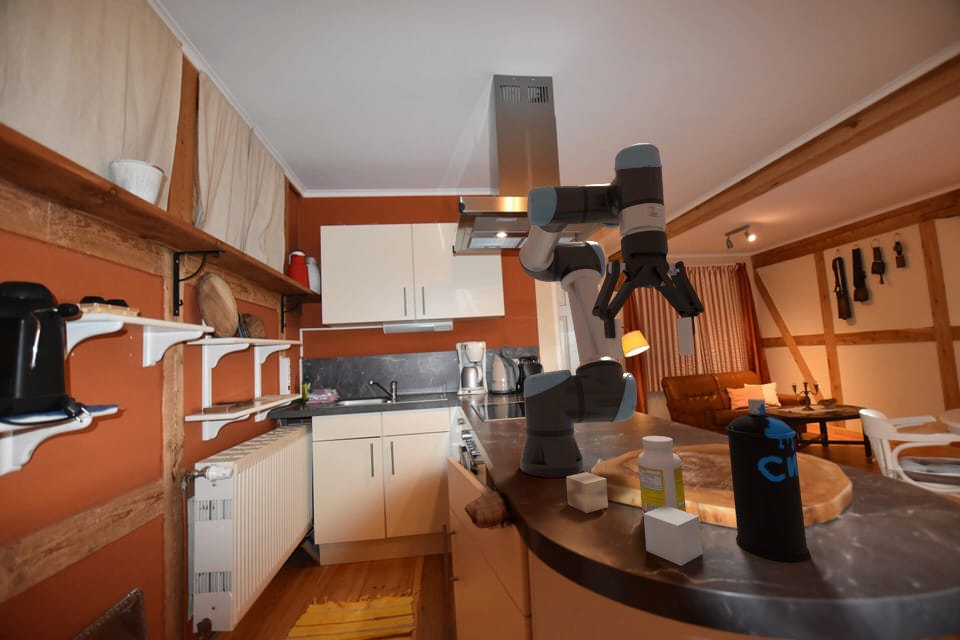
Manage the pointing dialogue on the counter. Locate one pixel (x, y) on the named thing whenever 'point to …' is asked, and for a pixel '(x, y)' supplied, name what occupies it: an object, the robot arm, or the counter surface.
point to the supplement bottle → (660, 475)
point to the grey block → (673, 534)
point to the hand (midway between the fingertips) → (652, 357)
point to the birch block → (587, 492)
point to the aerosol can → (766, 486)
